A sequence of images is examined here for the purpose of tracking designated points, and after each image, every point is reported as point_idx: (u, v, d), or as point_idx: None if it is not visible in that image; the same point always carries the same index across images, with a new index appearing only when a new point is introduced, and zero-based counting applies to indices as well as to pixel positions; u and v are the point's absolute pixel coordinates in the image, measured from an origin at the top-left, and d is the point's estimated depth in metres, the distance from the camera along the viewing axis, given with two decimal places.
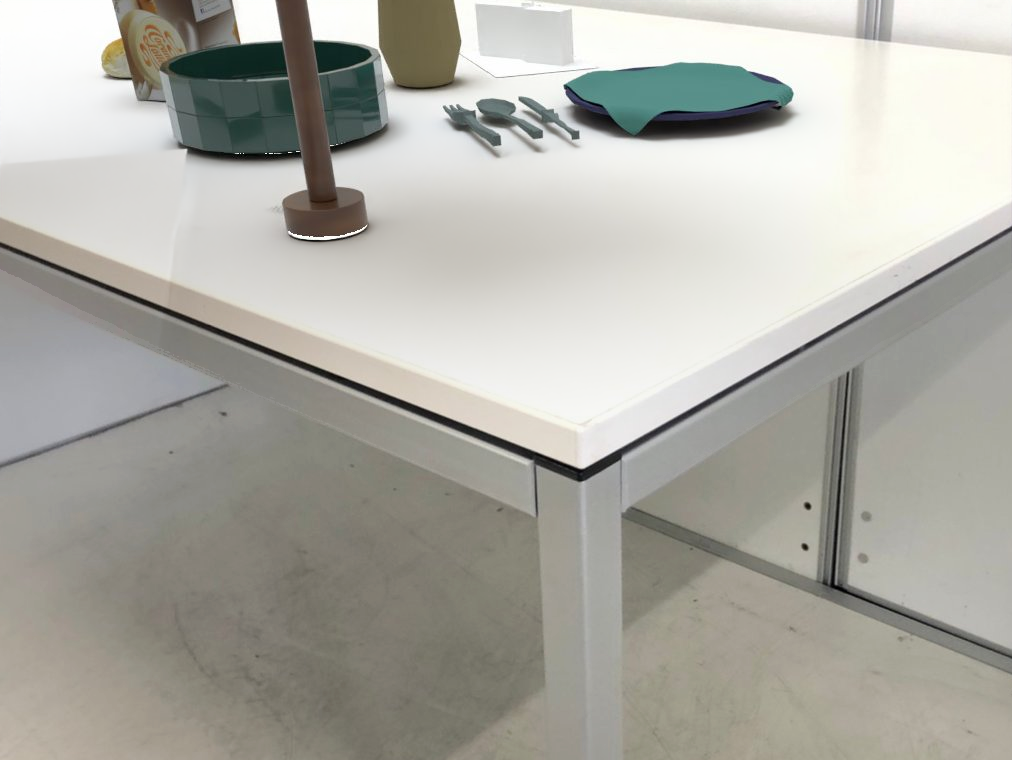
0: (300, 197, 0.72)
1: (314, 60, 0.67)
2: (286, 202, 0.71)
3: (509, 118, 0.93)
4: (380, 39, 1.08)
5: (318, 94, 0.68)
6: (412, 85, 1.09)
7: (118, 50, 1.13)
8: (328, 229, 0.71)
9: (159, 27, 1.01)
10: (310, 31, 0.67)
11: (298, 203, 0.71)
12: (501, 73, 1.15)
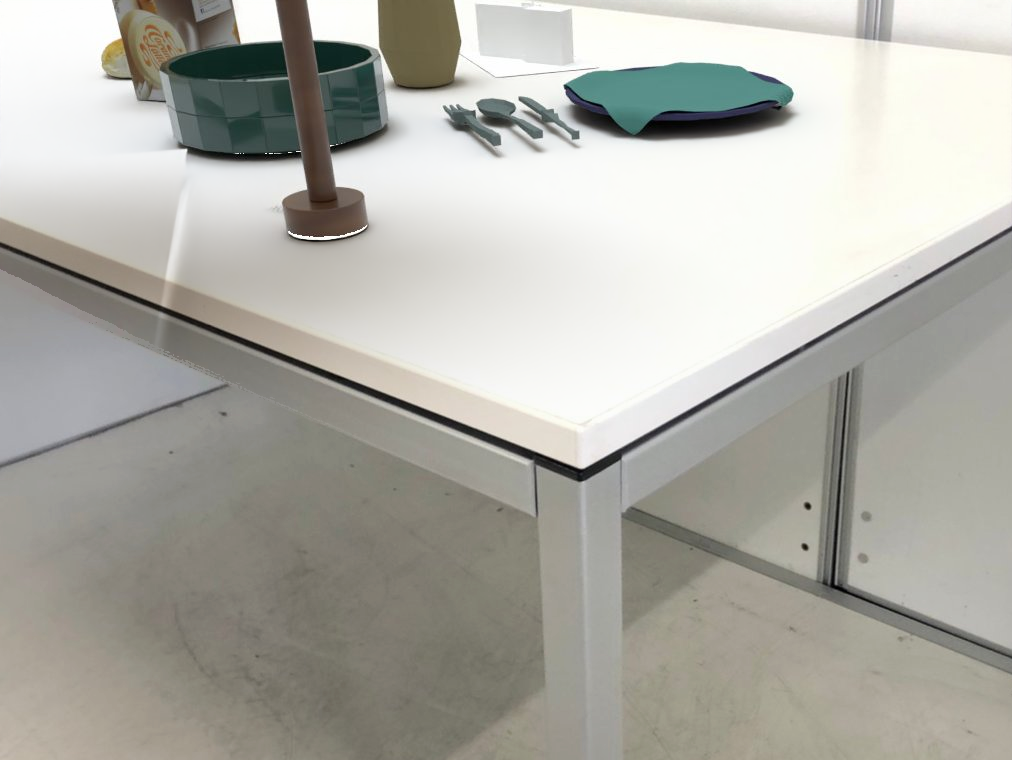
0: (300, 197, 0.72)
1: (314, 60, 0.67)
2: (286, 202, 0.71)
3: (509, 118, 0.93)
4: (380, 39, 1.08)
5: (318, 94, 0.68)
6: (412, 85, 1.09)
7: (118, 50, 1.13)
8: (328, 229, 0.71)
9: (159, 27, 1.01)
10: (310, 31, 0.67)
11: (298, 203, 0.71)
12: (501, 73, 1.15)
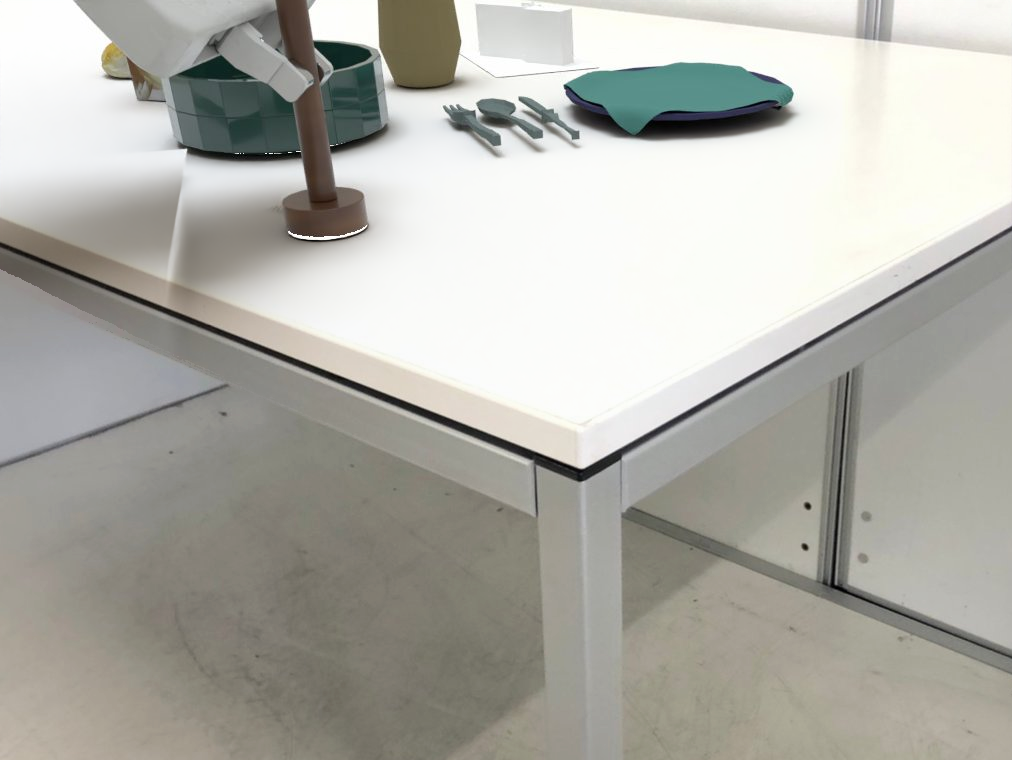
0: (300, 197, 0.72)
1: (314, 60, 0.67)
2: (286, 202, 0.71)
3: (509, 118, 0.93)
4: (380, 39, 1.08)
5: (318, 94, 0.68)
6: (412, 85, 1.09)
7: (118, 50, 1.13)
8: (328, 229, 0.71)
9: None
10: (310, 31, 0.67)
11: (298, 203, 0.71)
12: (501, 73, 1.15)
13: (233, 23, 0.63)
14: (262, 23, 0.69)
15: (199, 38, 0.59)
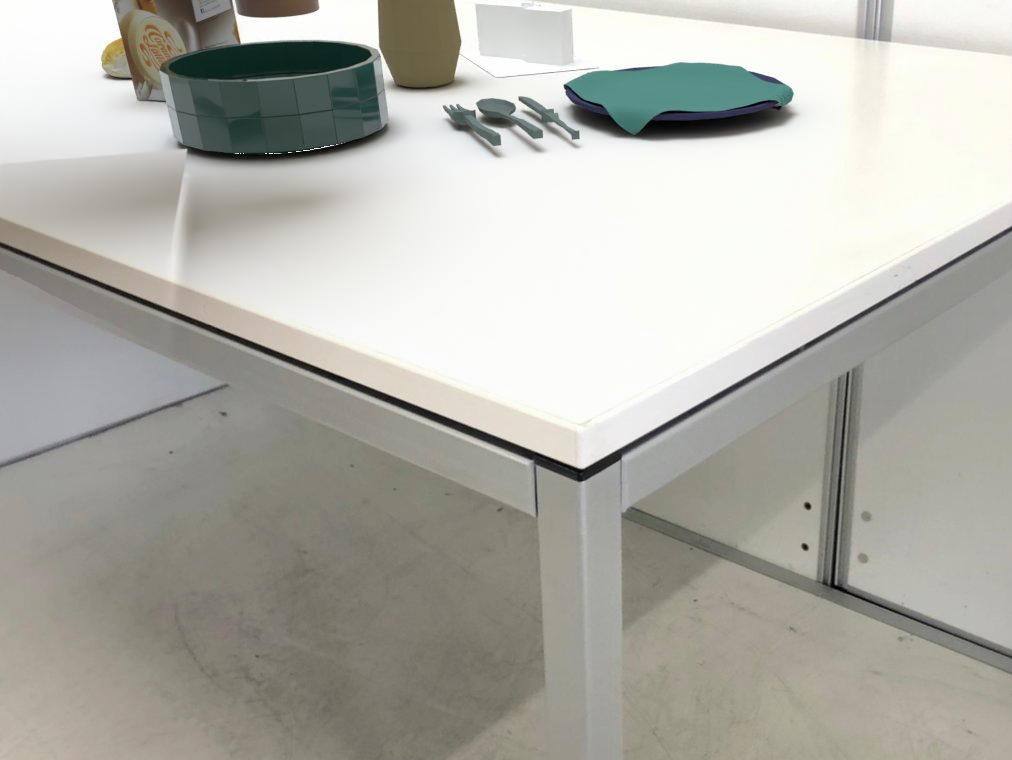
0: None
1: None
2: None
3: (509, 118, 0.93)
4: (380, 39, 1.08)
5: None
6: (412, 85, 1.09)
7: (118, 50, 1.13)
8: (276, 5, 0.70)
9: (159, 27, 1.01)
10: None
11: None
12: (501, 73, 1.15)
13: None
14: None
15: None
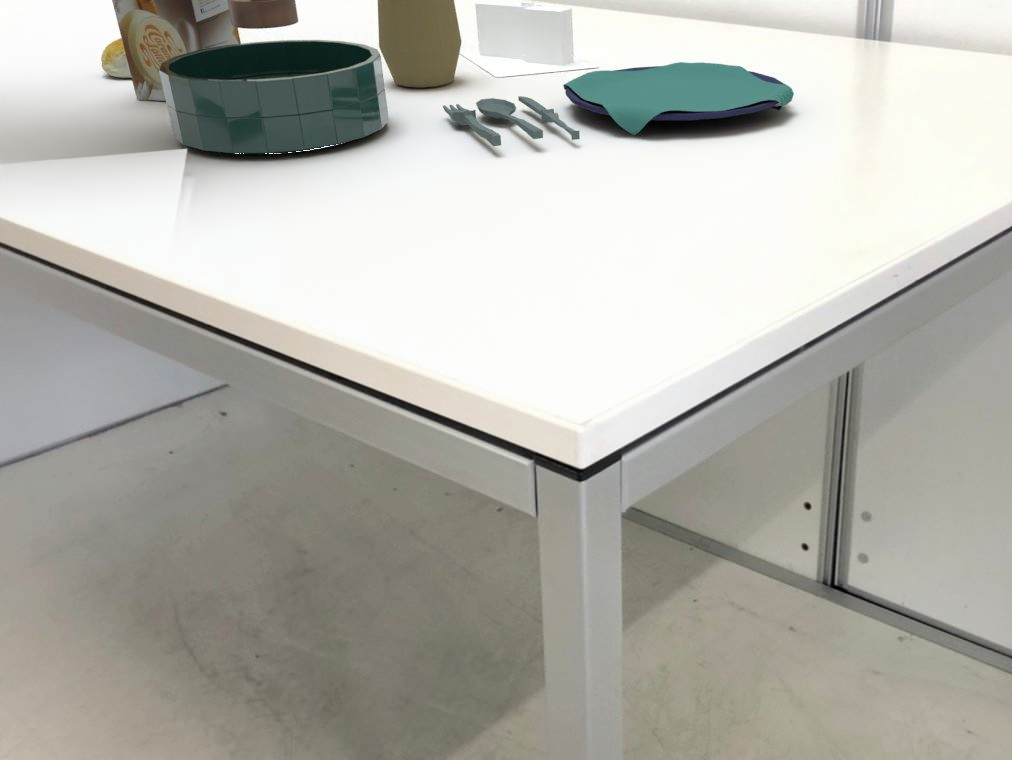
0: None
1: None
2: None
3: (509, 118, 0.93)
4: (380, 39, 1.08)
5: None
6: (412, 85, 1.09)
7: (118, 50, 1.13)
8: (264, 18, 0.88)
9: (159, 27, 1.01)
10: None
11: None
12: (501, 73, 1.15)
13: None
14: None
15: None
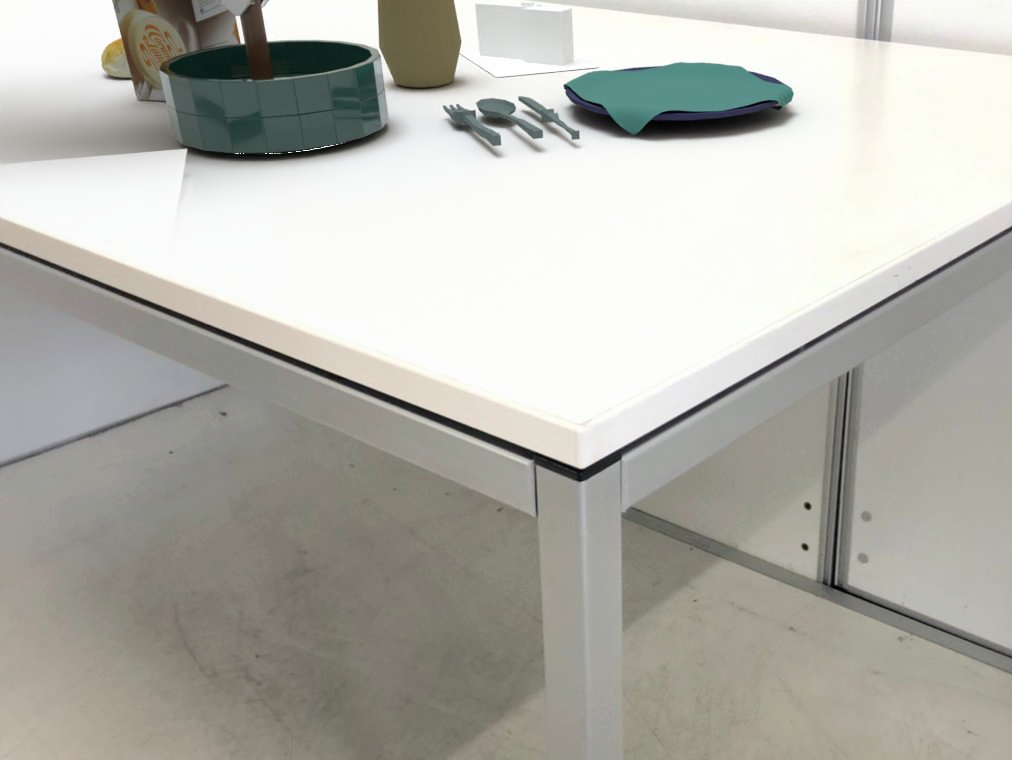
0: None
1: None
2: None
3: (509, 118, 0.93)
4: (380, 39, 1.08)
5: (259, 11, 0.91)
6: (412, 85, 1.09)
7: (118, 50, 1.13)
8: None
9: (159, 27, 1.01)
10: None
11: None
12: (501, 73, 1.15)
13: None
14: None
15: None
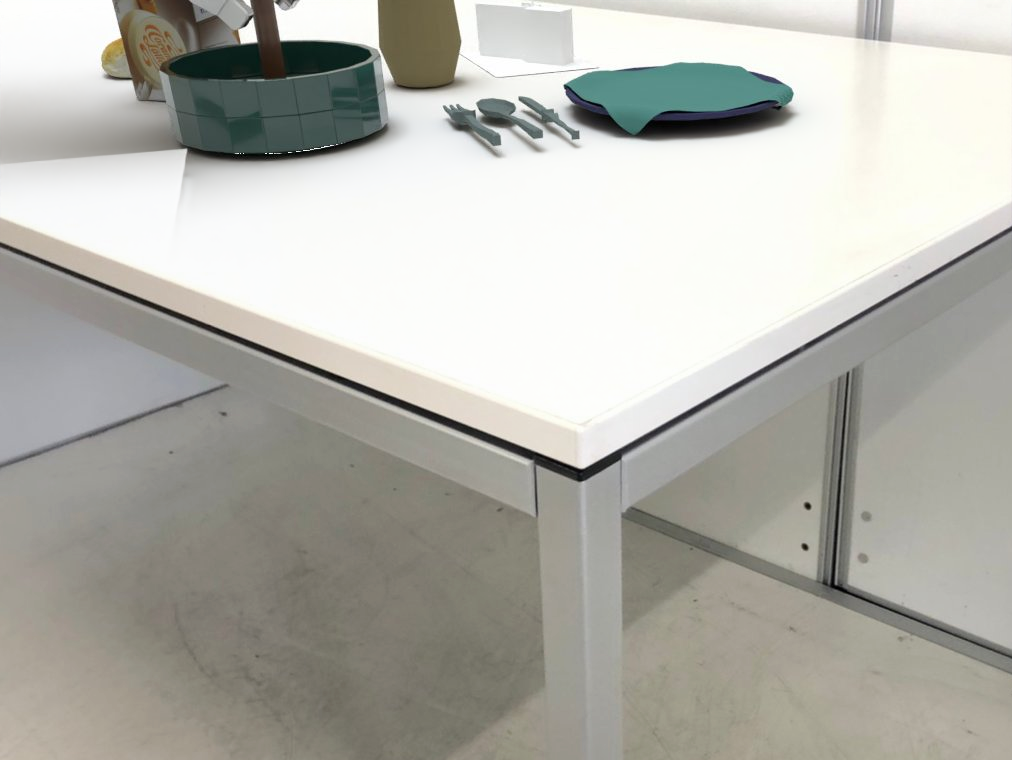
0: None
1: None
2: None
3: (509, 118, 0.93)
4: (380, 39, 1.08)
5: (273, 18, 0.90)
6: (412, 85, 1.09)
7: (118, 50, 1.13)
8: None
9: (159, 27, 1.01)
10: None
11: None
12: (501, 73, 1.15)
13: None
14: None
15: None
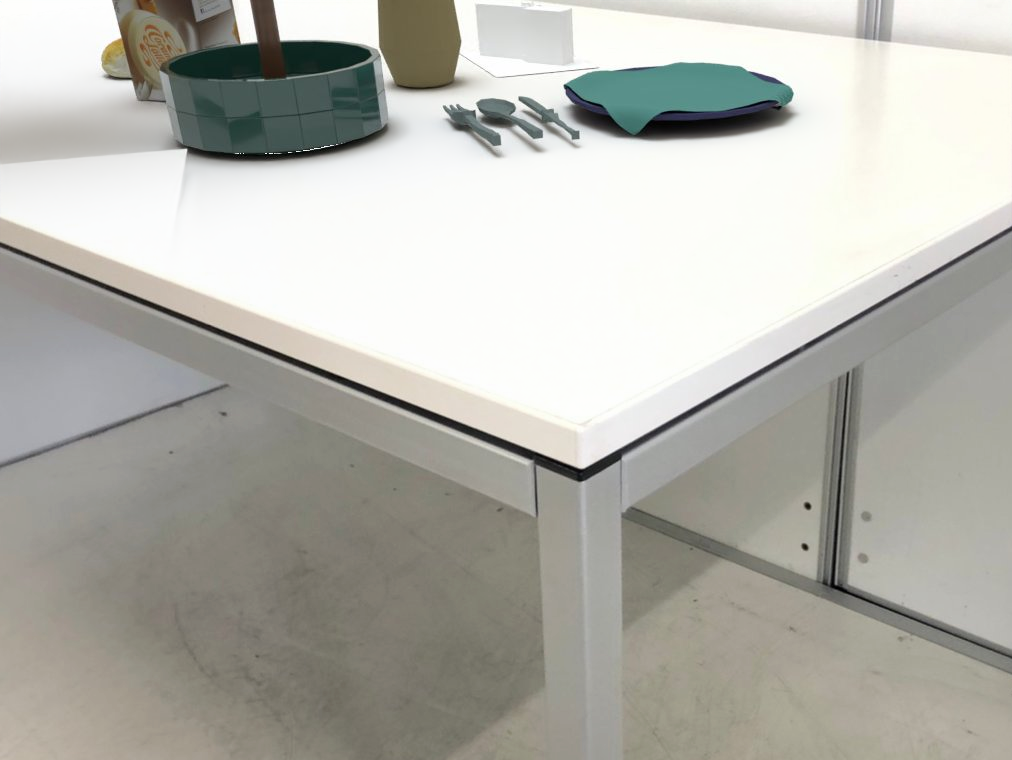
0: None
1: None
2: None
3: (509, 118, 0.93)
4: (380, 39, 1.07)
5: (273, 18, 0.90)
6: (412, 85, 1.09)
7: (118, 50, 1.13)
8: None
9: (159, 27, 1.01)
10: None
11: None
12: (501, 73, 1.15)
13: None
14: None
15: None
